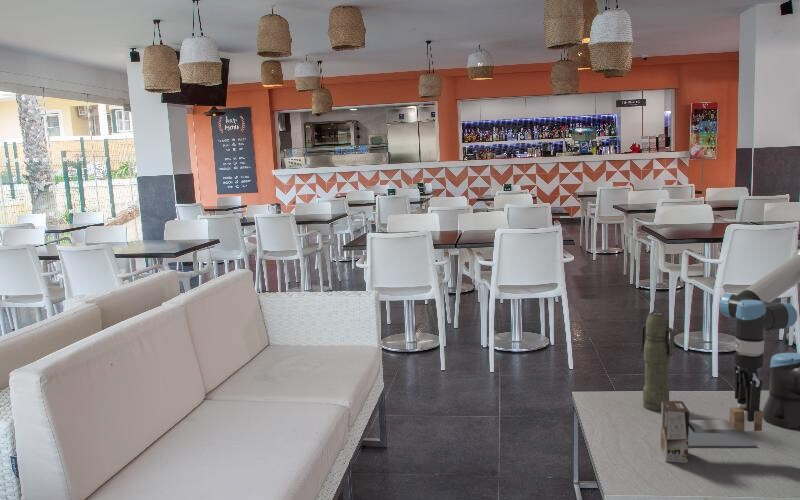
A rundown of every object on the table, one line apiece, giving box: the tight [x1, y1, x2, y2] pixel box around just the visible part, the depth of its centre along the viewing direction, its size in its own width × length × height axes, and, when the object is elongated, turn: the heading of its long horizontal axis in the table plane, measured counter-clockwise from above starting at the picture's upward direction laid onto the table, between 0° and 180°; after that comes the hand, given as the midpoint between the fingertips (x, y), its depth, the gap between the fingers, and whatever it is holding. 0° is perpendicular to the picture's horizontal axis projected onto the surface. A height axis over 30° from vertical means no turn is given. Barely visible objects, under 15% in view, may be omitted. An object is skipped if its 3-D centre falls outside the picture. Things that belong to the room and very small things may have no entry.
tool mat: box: [688, 427, 758, 448], centre depth 212 cm, size 24×14×1 cm, turn 85°
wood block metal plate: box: [689, 406, 763, 433], centre depth 197 cm, size 20×7×6 cm, turn 85°
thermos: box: [640, 311, 675, 413], centre depth 236 cm, size 9×12×35 cm
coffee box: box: [660, 400, 690, 464], centre depth 199 cm, size 9×6×16 cm
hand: (745, 427), depth 197 cm, fingers closed on wood block metal plate, 3 cm apart
